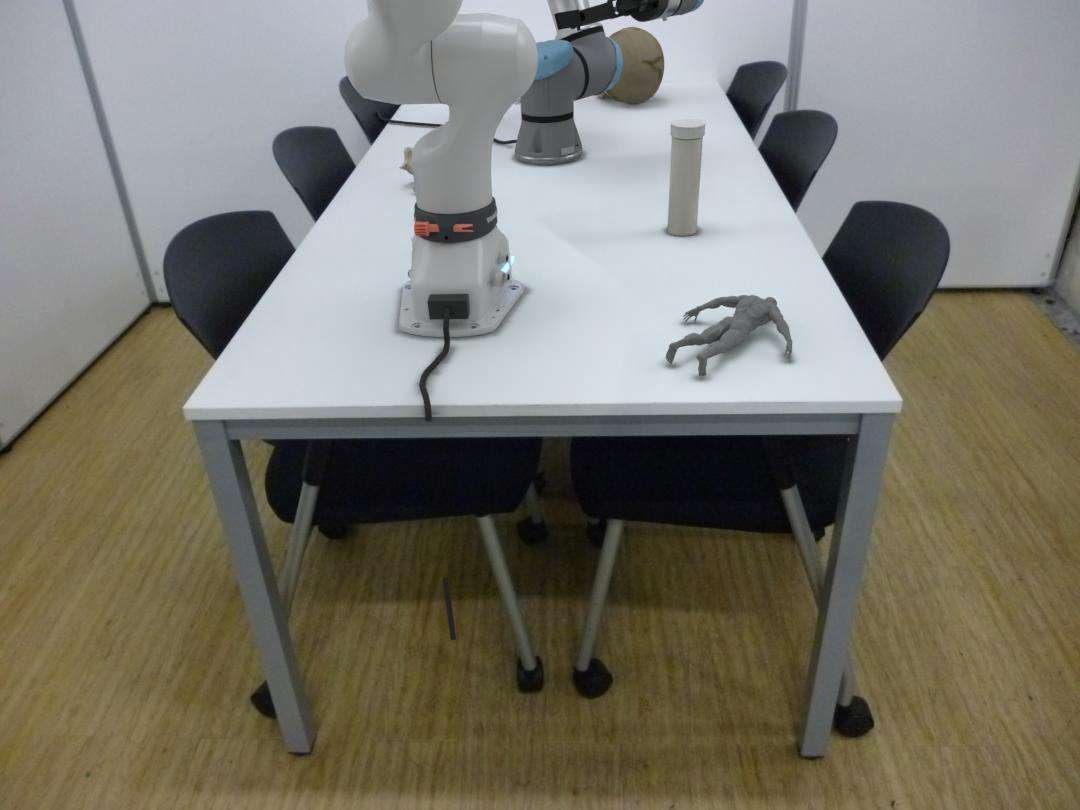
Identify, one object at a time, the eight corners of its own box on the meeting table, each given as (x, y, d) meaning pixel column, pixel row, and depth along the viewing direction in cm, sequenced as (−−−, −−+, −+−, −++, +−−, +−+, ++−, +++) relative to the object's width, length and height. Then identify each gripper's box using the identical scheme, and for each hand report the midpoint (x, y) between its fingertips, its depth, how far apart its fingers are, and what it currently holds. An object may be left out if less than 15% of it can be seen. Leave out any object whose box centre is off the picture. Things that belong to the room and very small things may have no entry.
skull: (629, 73, 244) (653, 2, 221) (655, 132, 236) (683, 64, 214) (578, 80, 240) (598, 7, 217) (603, 139, 232) (626, 71, 210)
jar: (686, 223, 149) (692, 120, 140) (702, 232, 145) (709, 126, 136) (662, 228, 148) (666, 124, 138) (677, 238, 144) (683, 131, 134)
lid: (692, 128, 141) (693, 116, 140) (711, 136, 136) (712, 124, 135) (663, 133, 139) (664, 121, 138) (682, 141, 135) (682, 129, 133)
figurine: (740, 398, 101) (827, 332, 111) (741, 369, 98) (830, 304, 109) (633, 353, 111) (722, 297, 122) (633, 326, 108) (724, 270, 119)
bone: (420, 170, 164) (410, 138, 170) (401, 193, 168) (392, 160, 173) (460, 189, 171) (449, 158, 177) (441, 211, 175) (432, 179, 180)
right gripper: (713, -2, 151) (651, 9, 137) (605, 38, 168) (540, 52, 154) (704, -47, 149) (640, -40, 135) (596, -2, 166) (528, 9, 152)
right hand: (586, 9), depth 144 cm, fingers open, 13 cm apart
